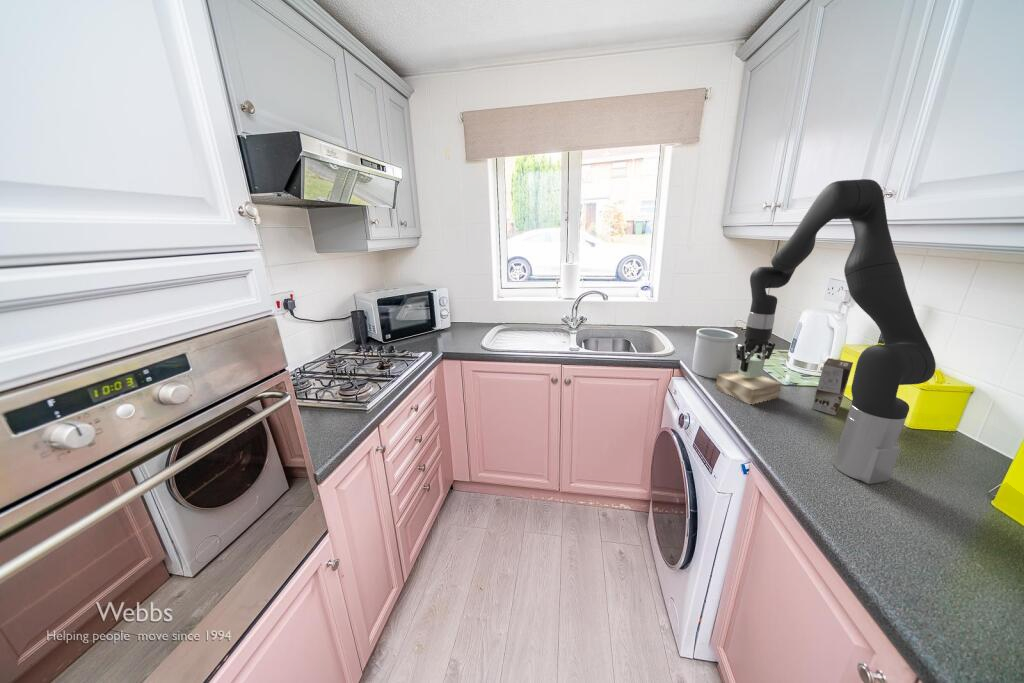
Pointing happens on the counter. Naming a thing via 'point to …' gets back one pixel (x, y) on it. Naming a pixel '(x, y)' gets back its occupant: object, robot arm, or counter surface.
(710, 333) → the utensil holder
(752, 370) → the sage block
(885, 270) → the robot arm
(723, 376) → the birch block
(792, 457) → the counter surface
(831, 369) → the coffee box
